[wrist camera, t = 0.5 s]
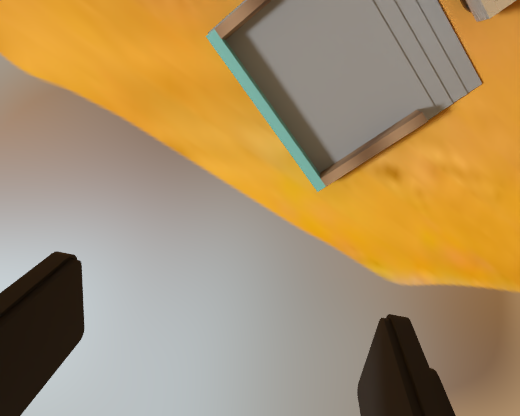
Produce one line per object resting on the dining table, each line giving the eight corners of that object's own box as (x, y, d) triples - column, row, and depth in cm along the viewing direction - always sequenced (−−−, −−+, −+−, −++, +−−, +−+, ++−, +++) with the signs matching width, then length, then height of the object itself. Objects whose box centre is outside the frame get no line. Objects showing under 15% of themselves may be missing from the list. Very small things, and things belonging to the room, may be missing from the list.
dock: (375, -114, 30) (381, -129, 28) (481, 83, 35) (494, 85, 32) (209, 33, 36) (202, 31, 33) (319, 187, 40) (320, 195, 38)
